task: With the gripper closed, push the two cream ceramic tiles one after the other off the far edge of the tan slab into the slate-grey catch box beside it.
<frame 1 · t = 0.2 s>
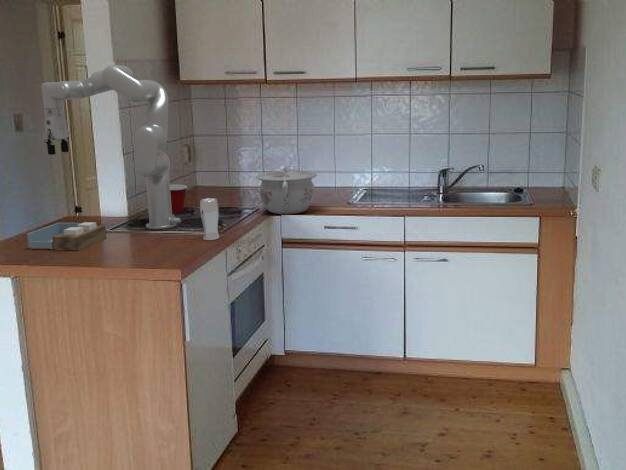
hand: (58, 153, 294), 31 cm above the worktop, fingers open, 9 cm apart
tile 1: (87, 228, 266), point 5 cm above the worktop, touching tan slab
beer glass: (211, 238, 266), on the worktop
tan slab: (81, 244, 263), on the worktop
plastic cup: (177, 211, 324), on the worktop
chamber pot: (287, 212, 313), on the worktop
tile 2: (74, 233, 258), point 5 cm above the worktop, touching tan slab
catch box: (56, 243, 266), on the worktop
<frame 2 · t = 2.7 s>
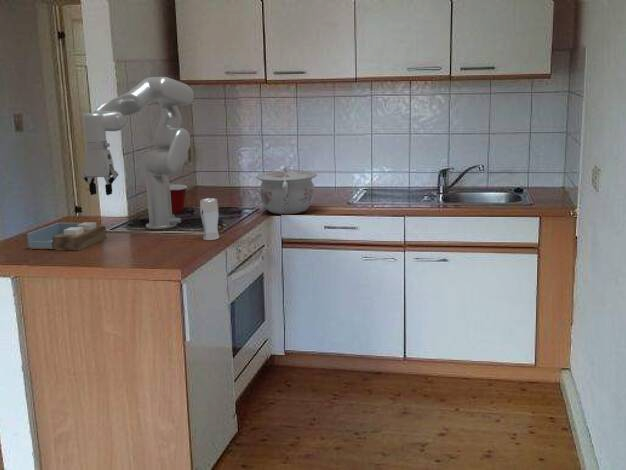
hand: (101, 194, 262), 19 cm above the worktop, fingers open, 5 cm apart
nothing on the worktop moved.
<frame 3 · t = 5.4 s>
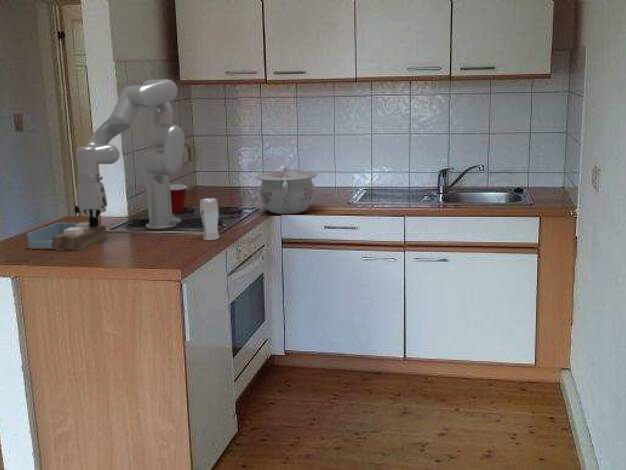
hand: (94, 226, 265), 6 cm above the worktop, fingers closed
tile 1: (85, 228, 266), point 5 cm above the worktop, touching tan slab, gripper
everything else where it was.
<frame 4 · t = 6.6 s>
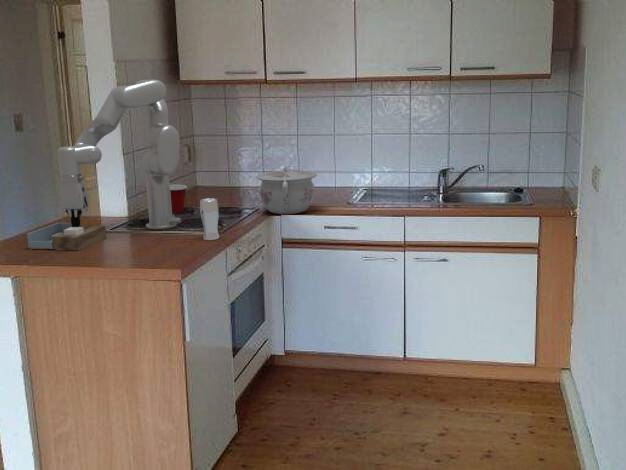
hand: (76, 226, 267), 6 cm above the worktop, fingers closed
tile 1: (60, 234, 270), point 3 cm above the worktop, tilted 180°, touching catch box
everything else where it was.
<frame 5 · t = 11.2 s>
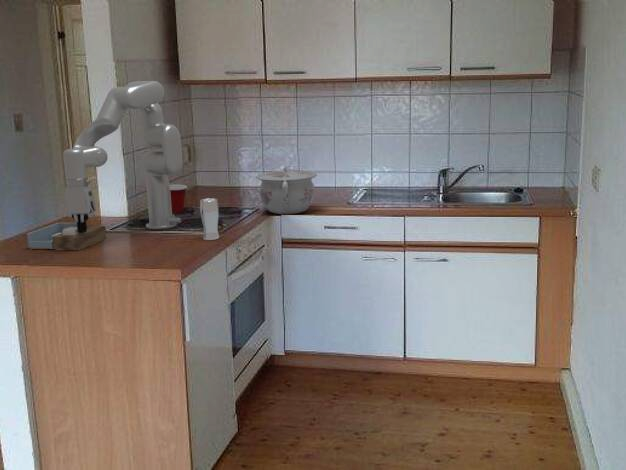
hand: (82, 232, 257), 6 cm above the worktop, fingers closed
tile 2: (73, 233, 258), point 5 cm above the worktop, touching gripper
everything else where it was.
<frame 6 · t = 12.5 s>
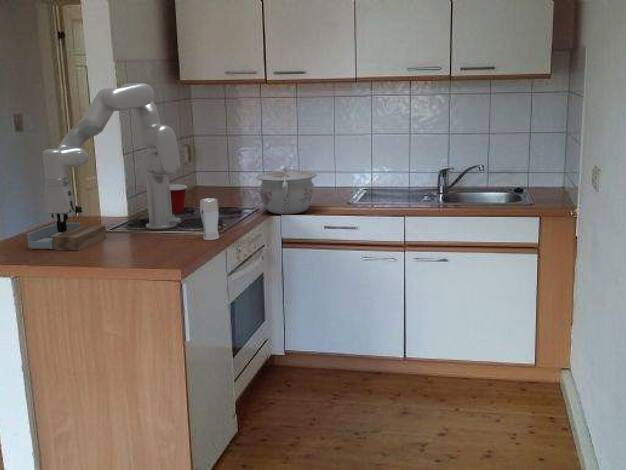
hand: (62, 231, 259), 6 cm above the worktop, fingers closed
tile 2: (46, 239, 261), point 3 cm above the worktop, tilted 180°, touching catch box
everything else where it was.
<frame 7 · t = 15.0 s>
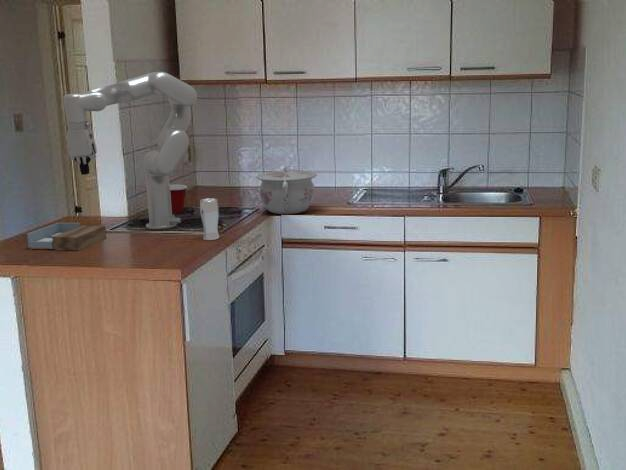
hand: (85, 174, 269), 25 cm above the worktop, fingers closed
nothing on the worktop moved.
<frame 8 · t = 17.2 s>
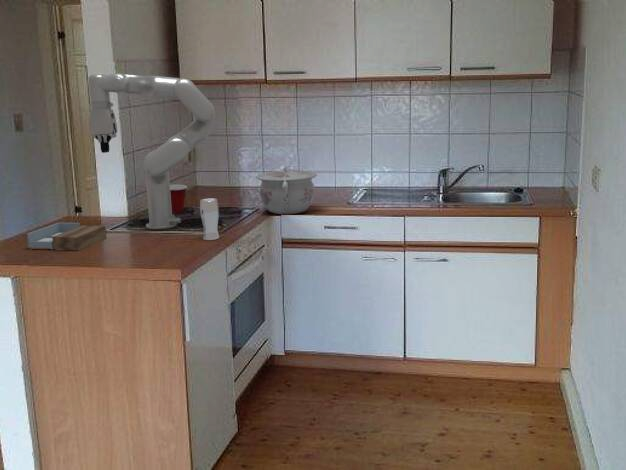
hand: (105, 152, 281), 32 cm above the worktop, fingers closed
nothing on the worktop moved.
at the end: tile 1 inside the target area on the catch box (4.5 cm from its centre), point 2.6 cm above the catch box's base; tile 2 inside the target area on the catch box (4.8 cm from its centre), point 2.6 cm above the catch box's base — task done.
